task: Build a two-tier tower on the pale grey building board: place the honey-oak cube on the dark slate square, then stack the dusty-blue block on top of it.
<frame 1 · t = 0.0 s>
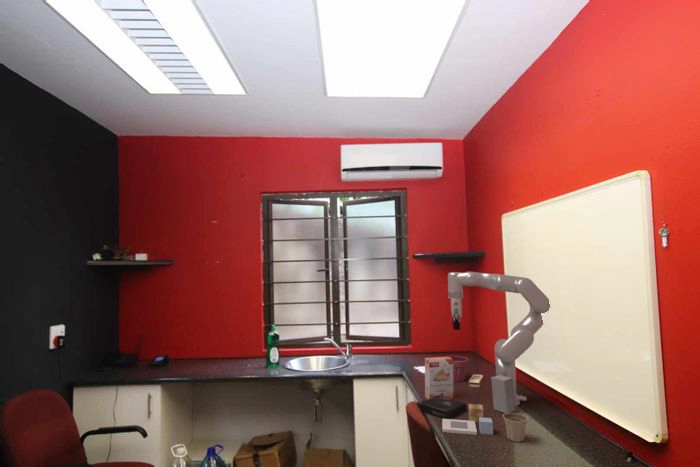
hand: (456, 328, 219), 37 cm above the worktop, tool pointing down, fingers open, 9 cm apart
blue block: (486, 432, 175), on the worktop
plant pot: (457, 379, 253), on the worktop
board: (459, 427, 180), on the worktop
portable cd player: (442, 412, 201), on the worktop
cracker box: (439, 398, 218), on the worktop
oak block: (476, 420, 189), on the worktop
flower pot: (515, 439, 168), on the worktop
skincare box: (503, 410, 200), on the worktop
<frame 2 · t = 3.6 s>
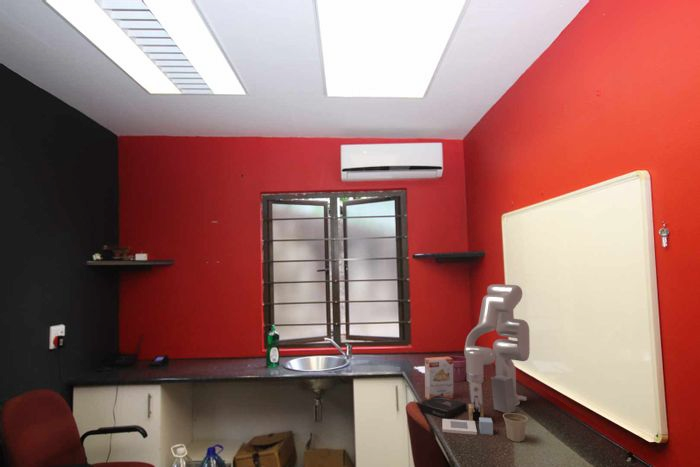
hand: (476, 417, 189), 1 cm above the worktop, tool pointing down, fingers closed on oak block, 6 cm apart
oak block: (476, 419, 189), on the worktop, touching gripper
everything else where it was.
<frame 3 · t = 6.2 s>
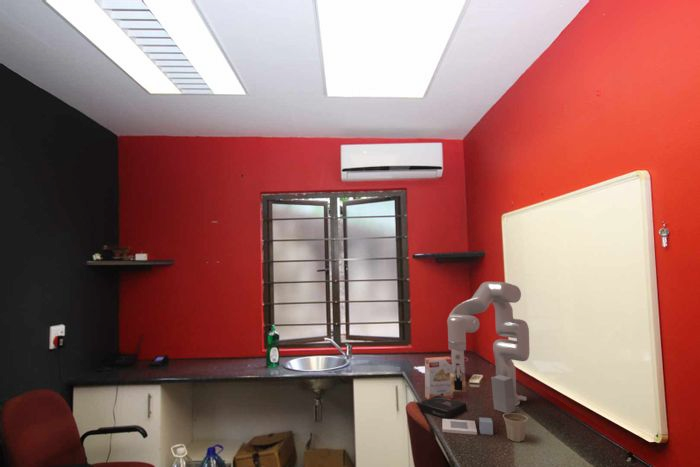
hand: (458, 387, 181), 17 cm above the worktop, tool pointing down, fingers closed on oak block, 6 cm apart
oak block: (458, 389, 181), point 16 cm above the worktop, touching gripper
everything else where it was.
when the fingers open (3 cm above the worktop, at t = 9.1 s): oak block drops 1 cm, resting on board.
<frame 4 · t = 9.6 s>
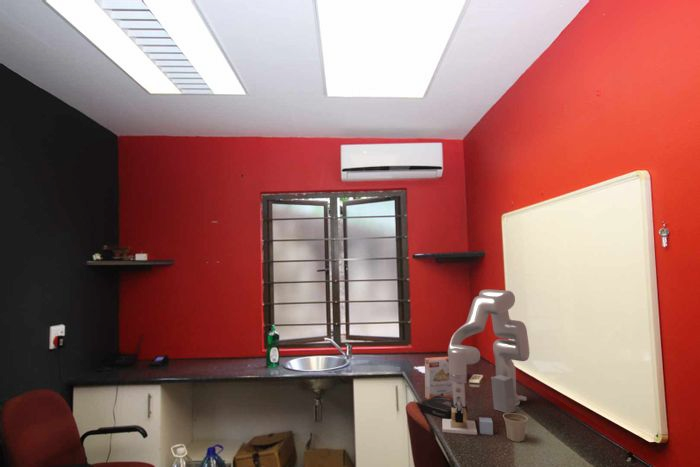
hand: (458, 418, 180), 4 cm above the worktop, tool pointing down, fingers open, 9 cm apart
oak block: (459, 424, 180), point 1 cm above the worktop, touching board
everything else where it was.
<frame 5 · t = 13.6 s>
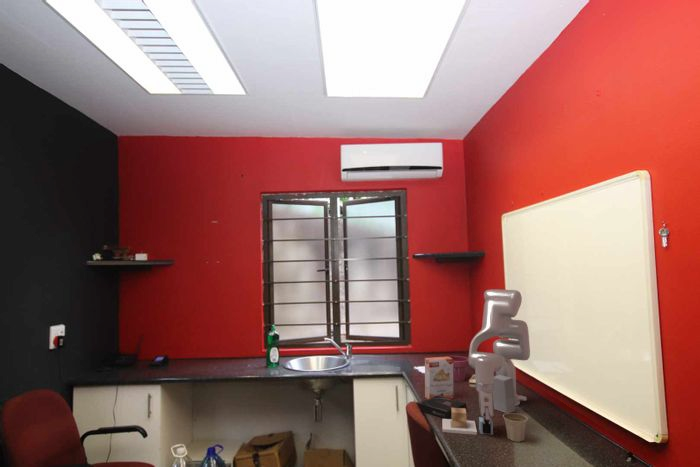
hand: (486, 430, 175), 1 cm above the worktop, tool pointing down, fingers closed on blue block, 5 cm apart
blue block: (486, 431, 175), on the worktop, touching gripper
everything else where it was.
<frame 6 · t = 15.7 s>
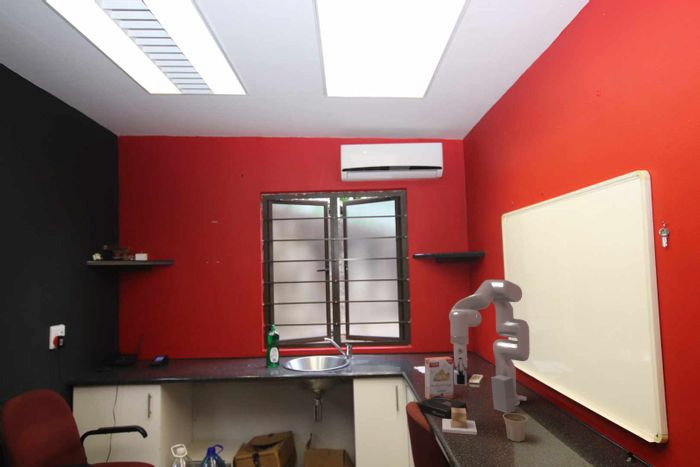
hand: (460, 381, 180), 20 cm above the worktop, tool pointing down, fingers closed on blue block, 5 cm apart
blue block: (460, 383, 180), point 19 cm above the worktop, touching gripper
everything else where it was.
when the fingers open (9 cm above the worktop, at t = 18.1 s): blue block drops 1 cm, resting on oak block.
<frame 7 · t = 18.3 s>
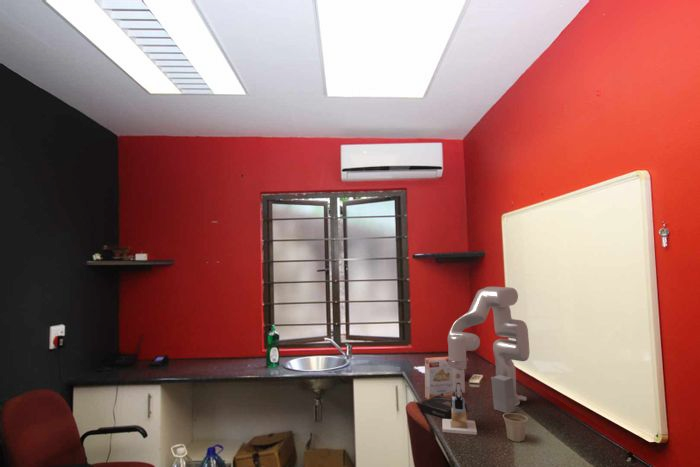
hand: (458, 405, 180), 9 cm above the worktop, tool pointing down, fingers open, 6 cm apart
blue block: (458, 410, 180), point 7 cm above the worktop, touching oak block
oak block: (459, 424, 180), point 1 cm above the worktop, touching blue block, board
everything else where it was.
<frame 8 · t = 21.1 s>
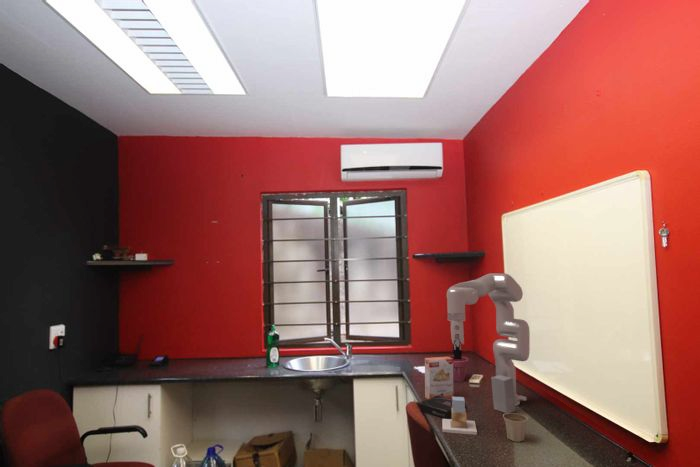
hand: (457, 356, 182), 30 cm above the worktop, tool pointing down, fingers open, 9 cm apart
nothing on the worktop moved.
at the end: oak block inside the target area on the board (0.1 cm from its centre), point 1.3 cm above the board's base; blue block 0.1 cm off-centre on the oak block, point 6.0 cm above the oak block's base; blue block tilted 0° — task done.
